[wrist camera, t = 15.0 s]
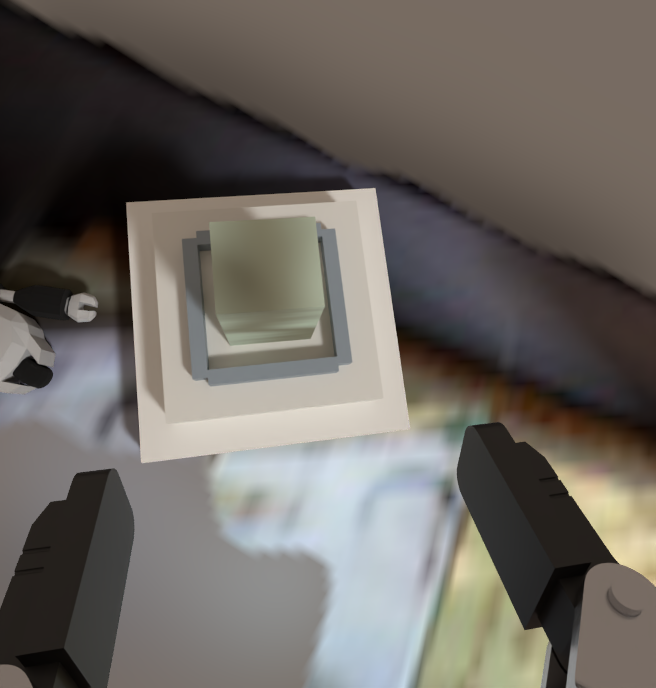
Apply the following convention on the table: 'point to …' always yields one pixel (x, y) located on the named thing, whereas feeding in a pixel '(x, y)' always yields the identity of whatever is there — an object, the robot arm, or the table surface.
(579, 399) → the table surface
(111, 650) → the robot arm
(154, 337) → the plinth
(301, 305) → the block
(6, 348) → the robot toy
